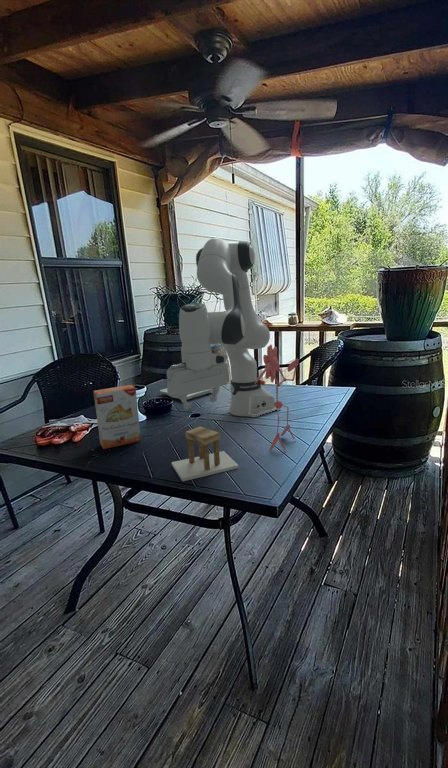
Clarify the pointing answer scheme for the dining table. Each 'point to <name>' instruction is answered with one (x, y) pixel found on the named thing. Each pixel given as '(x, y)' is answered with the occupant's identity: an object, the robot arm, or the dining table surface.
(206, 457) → the oak stool
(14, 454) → the dining table surface
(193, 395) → the salad plate
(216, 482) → the dining table surface
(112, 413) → the cracker box
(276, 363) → the pink stick figure
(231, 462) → the white board
